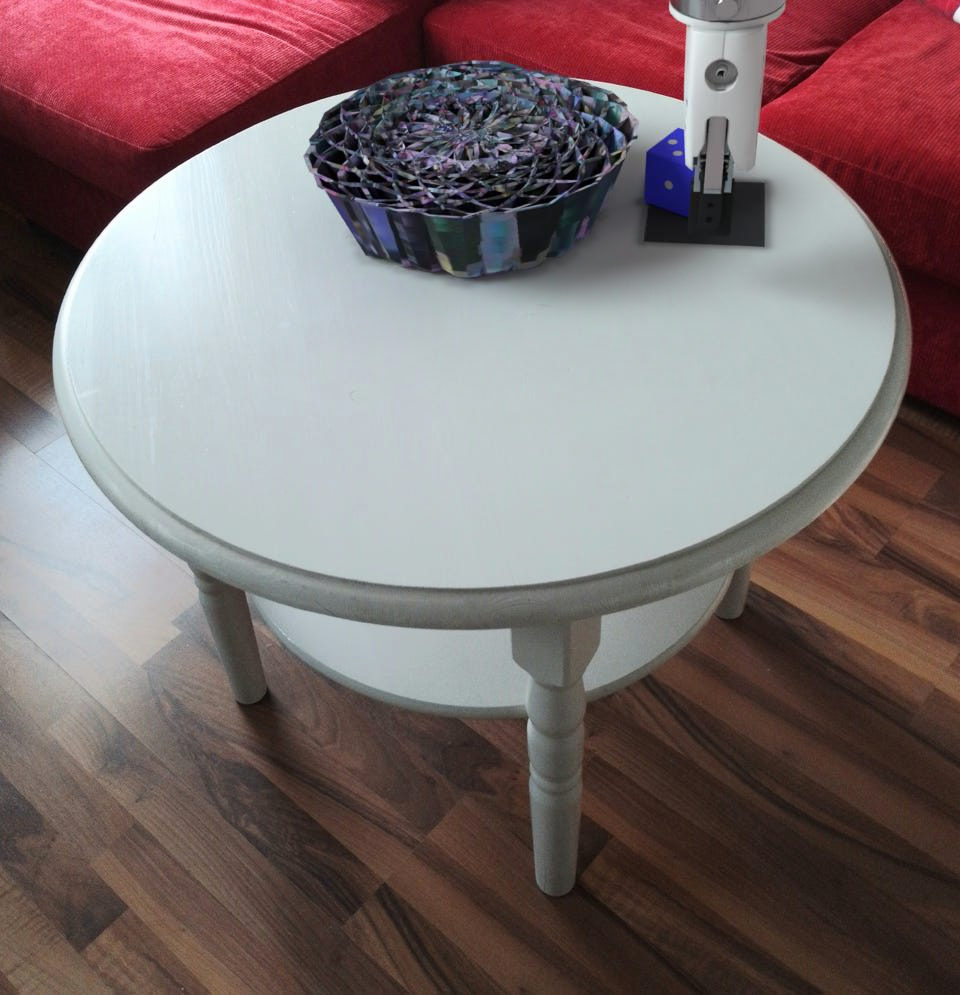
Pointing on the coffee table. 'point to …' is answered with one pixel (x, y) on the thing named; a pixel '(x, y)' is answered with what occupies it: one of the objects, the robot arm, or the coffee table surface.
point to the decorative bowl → (471, 165)
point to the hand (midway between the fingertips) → (709, 229)
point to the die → (668, 174)
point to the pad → (743, 233)
